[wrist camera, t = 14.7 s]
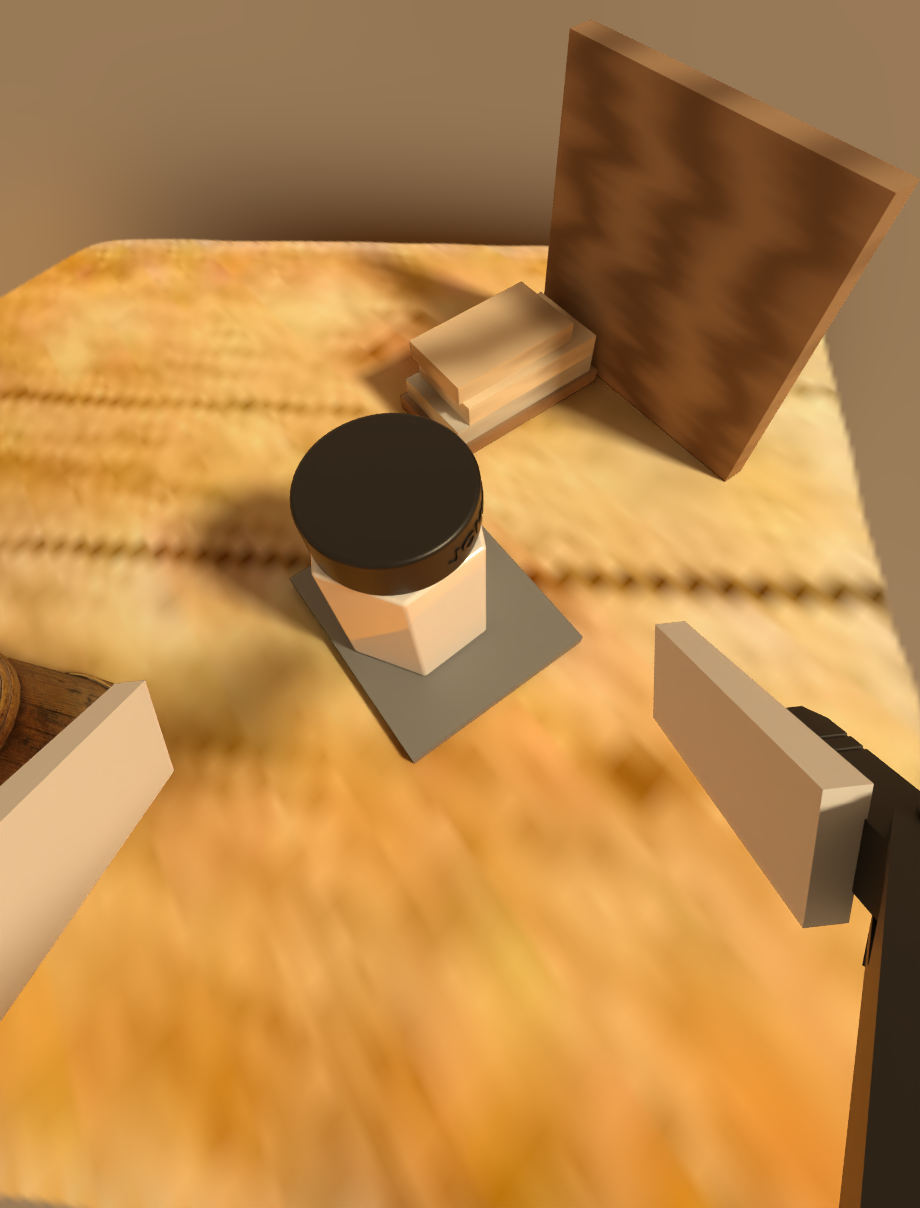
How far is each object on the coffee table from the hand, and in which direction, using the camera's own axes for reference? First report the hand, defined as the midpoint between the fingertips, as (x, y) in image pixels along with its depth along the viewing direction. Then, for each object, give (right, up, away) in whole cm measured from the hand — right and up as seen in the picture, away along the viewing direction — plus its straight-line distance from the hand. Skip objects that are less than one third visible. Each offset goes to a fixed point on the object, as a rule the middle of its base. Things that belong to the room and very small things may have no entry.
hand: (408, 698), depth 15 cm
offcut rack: (+9, +15, +26) cm, 31 cm away
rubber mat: (0, +2, +20) cm, 21 cm away
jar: (-1, +2, +20) cm, 20 cm away
